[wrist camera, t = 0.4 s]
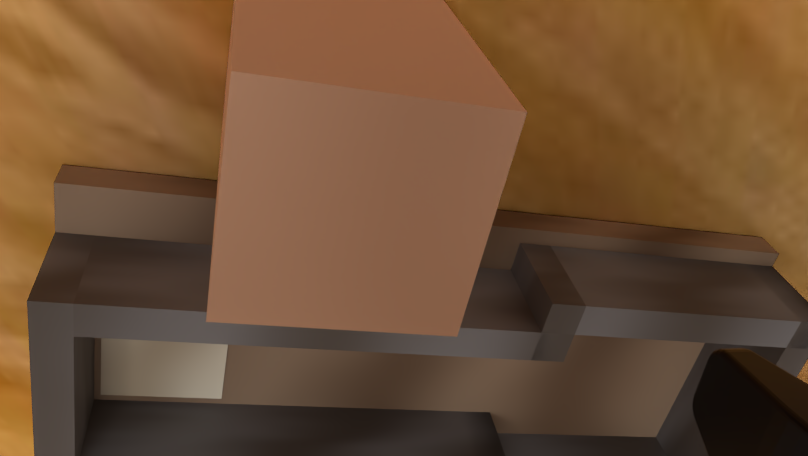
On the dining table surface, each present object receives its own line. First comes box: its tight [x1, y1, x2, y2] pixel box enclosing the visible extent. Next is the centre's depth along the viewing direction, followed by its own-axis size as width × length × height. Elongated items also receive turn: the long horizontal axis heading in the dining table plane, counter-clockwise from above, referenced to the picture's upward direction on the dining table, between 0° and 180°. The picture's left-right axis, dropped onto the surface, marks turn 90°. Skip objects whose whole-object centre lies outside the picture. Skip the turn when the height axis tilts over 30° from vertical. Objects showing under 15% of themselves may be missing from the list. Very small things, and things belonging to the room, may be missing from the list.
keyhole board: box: [27, 165, 808, 456], centre depth 24 cm, size 22×10×4 cm, turn 78°
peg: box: [206, 0, 527, 337], centre depth 15 cm, size 4×4×10 cm
